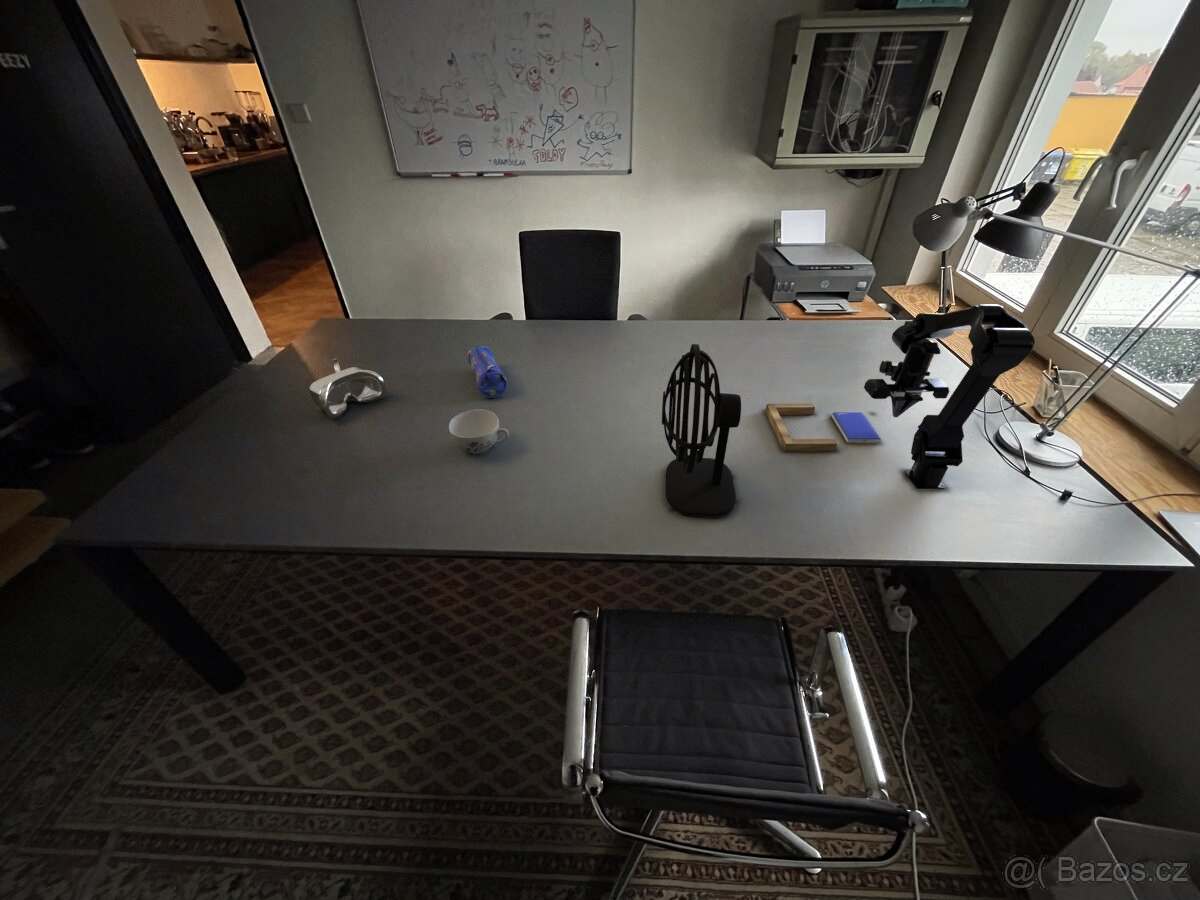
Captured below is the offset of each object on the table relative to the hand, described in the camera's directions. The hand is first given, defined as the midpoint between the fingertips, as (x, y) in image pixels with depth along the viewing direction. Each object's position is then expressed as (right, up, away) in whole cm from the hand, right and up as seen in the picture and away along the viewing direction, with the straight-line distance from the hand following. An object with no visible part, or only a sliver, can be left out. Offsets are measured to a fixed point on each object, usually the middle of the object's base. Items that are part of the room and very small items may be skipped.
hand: (894, 416), depth 132 cm
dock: (-23, -3, +3) cm, 24 cm away
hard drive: (-9, -4, +3) cm, 10 cm away
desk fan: (-56, -18, -15) cm, 60 cm away
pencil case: (-113, +12, +26) cm, 117 cm away
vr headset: (-151, +4, +16) cm, 152 cm away
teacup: (-108, -9, -1) cm, 109 cm away
